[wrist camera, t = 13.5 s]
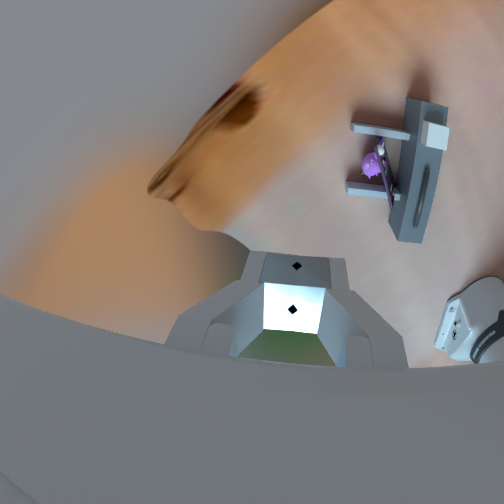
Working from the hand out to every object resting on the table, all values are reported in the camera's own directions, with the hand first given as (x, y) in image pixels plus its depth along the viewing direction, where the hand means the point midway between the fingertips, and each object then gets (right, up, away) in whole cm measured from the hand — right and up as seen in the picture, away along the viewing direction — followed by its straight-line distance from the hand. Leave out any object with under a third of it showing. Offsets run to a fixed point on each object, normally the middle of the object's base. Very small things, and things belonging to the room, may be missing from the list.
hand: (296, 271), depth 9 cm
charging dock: (+18, +14, +28) cm, 37 cm away
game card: (+17, +14, +29) cm, 36 cm away
